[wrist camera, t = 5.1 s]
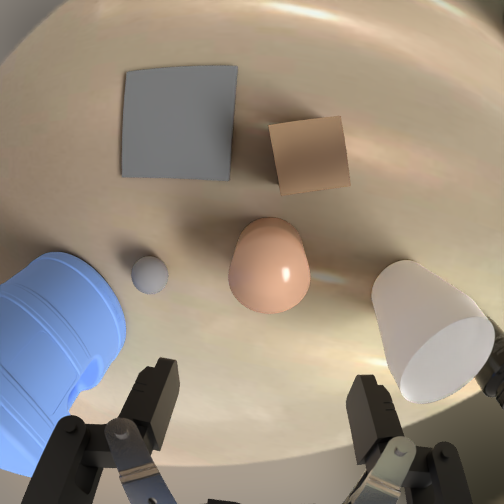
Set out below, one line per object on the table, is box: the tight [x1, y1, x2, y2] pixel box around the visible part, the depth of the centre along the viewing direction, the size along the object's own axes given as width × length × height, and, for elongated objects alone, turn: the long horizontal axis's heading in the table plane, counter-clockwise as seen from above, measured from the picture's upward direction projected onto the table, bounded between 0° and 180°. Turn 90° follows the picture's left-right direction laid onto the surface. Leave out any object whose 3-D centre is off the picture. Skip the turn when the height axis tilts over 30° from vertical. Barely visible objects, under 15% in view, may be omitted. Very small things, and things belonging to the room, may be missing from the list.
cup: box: [371, 260, 495, 404], centre depth 22 cm, size 9×9×12 cm
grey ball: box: [131, 256, 168, 294], centre depth 27 cm, size 4×4×4 cm
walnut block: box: [268, 116, 351, 196], centre depth 21 cm, size 5×5×5 cm
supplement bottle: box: [474, 319, 504, 409], centre depth 24 cm, size 7×7×12 cm
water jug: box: [0, 252, 126, 478], centre depth 18 cm, size 16×16×28 cm
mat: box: [122, 66, 238, 181], centre depth 23 cm, size 10×10×1 cm
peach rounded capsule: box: [228, 217, 311, 314], centre depth 24 cm, size 6×6×6 cm
